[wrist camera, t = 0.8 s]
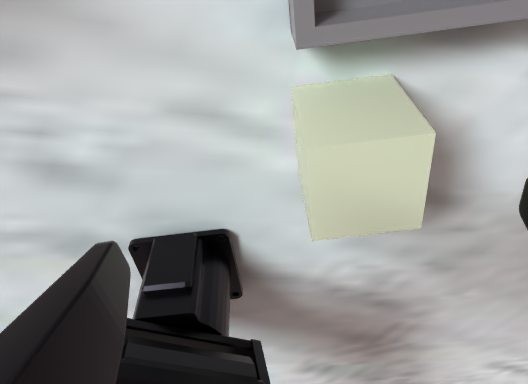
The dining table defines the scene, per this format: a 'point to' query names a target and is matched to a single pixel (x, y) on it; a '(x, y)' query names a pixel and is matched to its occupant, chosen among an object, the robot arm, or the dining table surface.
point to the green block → (361, 157)
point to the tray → (391, 18)
